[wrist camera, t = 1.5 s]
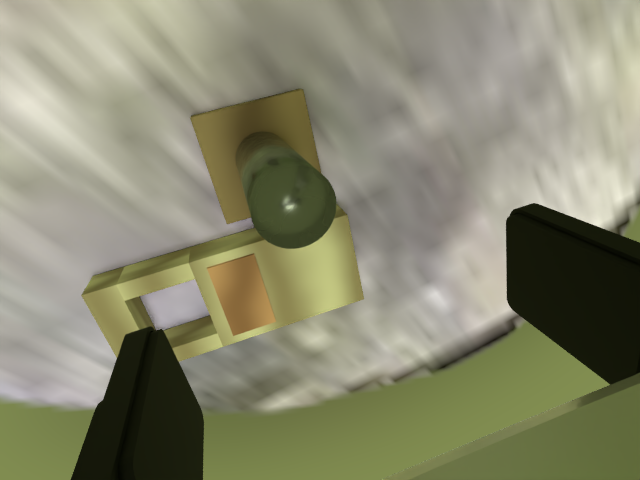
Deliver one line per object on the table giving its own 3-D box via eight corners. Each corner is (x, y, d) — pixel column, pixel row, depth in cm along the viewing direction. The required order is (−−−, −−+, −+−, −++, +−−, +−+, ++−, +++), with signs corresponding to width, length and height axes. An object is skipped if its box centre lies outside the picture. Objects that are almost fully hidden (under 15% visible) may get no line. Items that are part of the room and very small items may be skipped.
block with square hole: (336, 203, 33) (348, 215, 30) (352, 282, 37) (364, 300, 34) (92, 275, 30) (80, 296, 27) (135, 354, 34) (128, 380, 31)
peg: (282, 125, 28) (326, 154, 17) (295, 178, 30) (343, 234, 19) (228, 139, 28) (239, 179, 17) (244, 192, 29) (264, 259, 19)
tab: (298, 88, 29) (303, 89, 28) (321, 190, 32) (326, 195, 31) (191, 115, 28) (190, 117, 26) (226, 217, 31) (227, 224, 30)
